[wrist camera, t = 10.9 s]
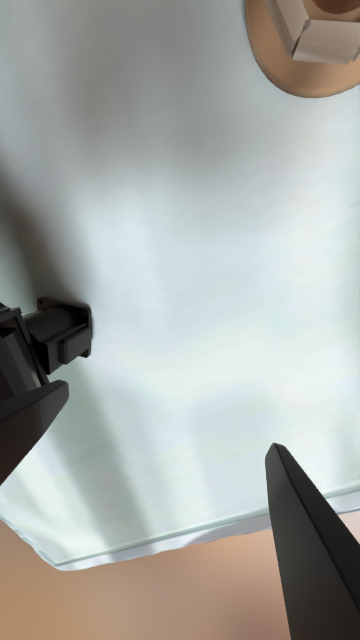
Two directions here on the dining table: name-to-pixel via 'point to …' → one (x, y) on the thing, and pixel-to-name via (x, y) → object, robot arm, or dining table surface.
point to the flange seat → (305, 46)
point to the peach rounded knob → (337, 5)
